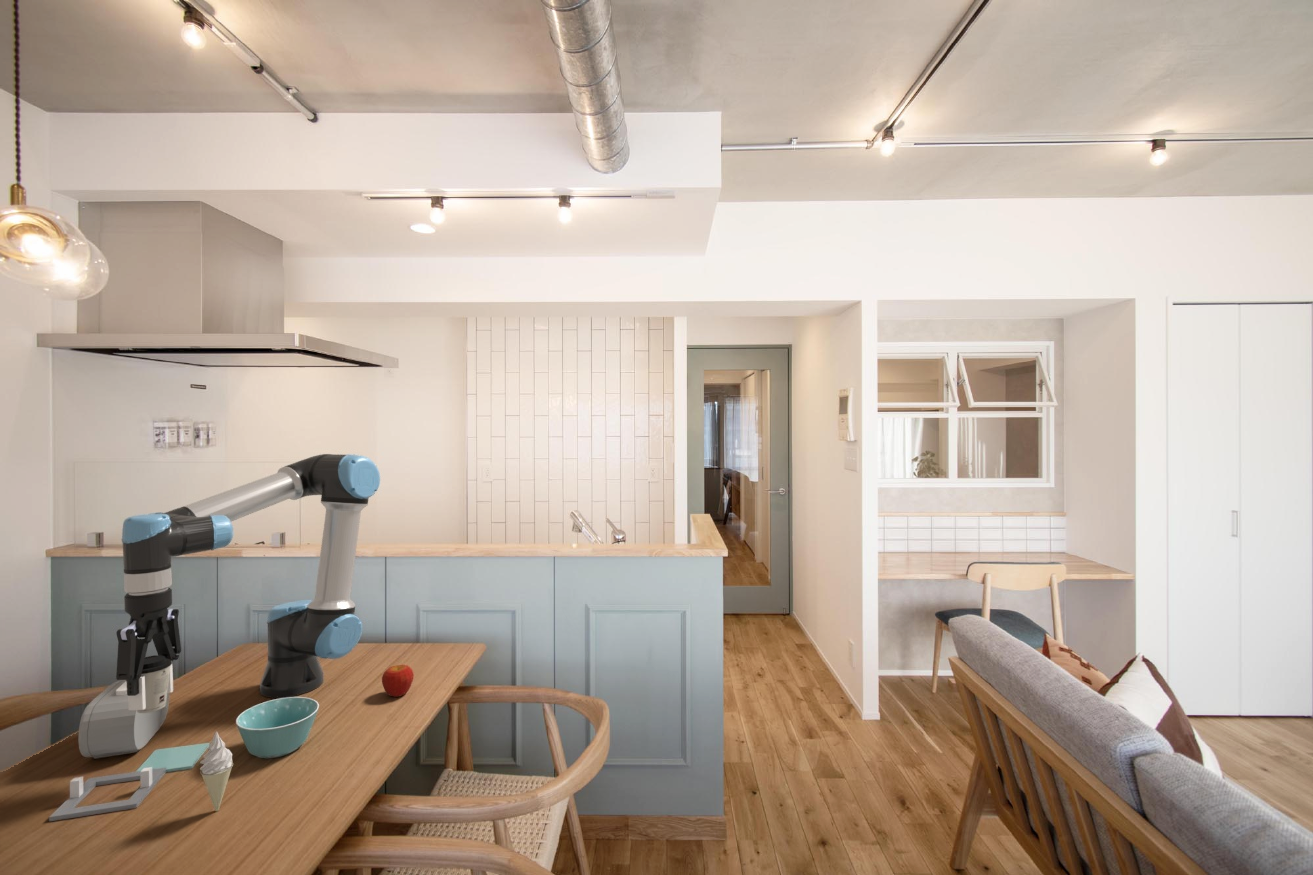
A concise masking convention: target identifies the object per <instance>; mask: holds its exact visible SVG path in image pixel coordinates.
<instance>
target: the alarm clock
mask: <svg viewBox="0 0 1313 875" xmlns="http://www.w3.org/2000/svg"><path fill="white" fill-rule="evenodd" d="M169 706H170V693H167V699H166V705H165V707H163V708H161V709H159V710H156V711H153V712H149V713H138V712H137V710H129V705H128V695H127V682H126V680H117V681H114V682H113V683H111V684H109V685H108V686H107V687H106V688H105V689H104V690H102V691H101V692H100V693H99V694H98V695H97V696H96V697H95V698H94V699H92V700H91V701H90V702H89V703H88V704H87V705H86V706H85V708H84V710H83V712H82V714H81V717H80V722H79V726H78V748H79V752H80V754H81V755H82V757H85V758H93V759H100V758H107V757H113V756H120V755H127V754H133V753H138V751H140V750H141V749H143V748H144V747H145V746H146V745H147V744H148V743H149V741H150V740H151V739H152V738H153V737H154V736H155V735H156V733H157V732H158V731H159V730H160V728H161V727H162V725H163V724H164V722H165V720H166V717H167V716H168V711H169Z"/></svg>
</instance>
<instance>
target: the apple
mask: <svg viewBox="0 0 1313 875" xmlns="http://www.w3.org/2000/svg"><path fill="white" fill-rule="evenodd" d="M414 678H415V677H414V671H413V669H412V668H411V667H410V666H409V665H407V664H398V665H393V666H390V667H388V668H387V670H385V671H384V672H383V674H382V676H381V684H382V687H383V689H384V691H385V693H386V694H387V695H389V696H391V697H394V698H398V697H402V696H404V695H405V694H406V693H407V692H409V690H410V688H411V687H412V683H413V681H414Z"/></svg>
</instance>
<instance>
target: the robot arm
mask: <svg viewBox="0 0 1313 875" xmlns="http://www.w3.org/2000/svg"><path fill="white" fill-rule="evenodd" d="M380 482H381V476H380V471H379V468H378V466H377V465H376V464H375V462H374V461H373V460H372V459H370V457H369V458H368V457H367V456H363V455H359V454H331V453H323V454H318V455H314V456H310V457H308V458H304V459H301V460H299V461H296V462H293V463H290V464H287V465H284V466H281V467H280V468H279V469H278V470H277V472H276V473H273V474H271V475H268V476H265V477H262V478H260V479H257V480H254V481H251V482H248V483H246V484H243V485H239V486H237V487H234V488H231V489H229V490H226V491H223V492H220V493H218V494H214V495H211V496H209V497H205V498H203V499H200V500H198V501H195V502H192V503H189V504H186V505H184V506H183V505H182V506H180V507H178V508H175V509H171V510H169V511H167V512H166V511H165V512H151V513H147V514H146V513H145V514H138V515H136V514H135V515H131V516H129V517H127V518H125V519H124V520H123V524H122V530H121V531H122V533H121V534H122V536H121V543H122V554H123V555H122V558H123V560H122V561H123V578H124V579H123V582H124V585H123V586H124V588H123V590H124V592H125V593H126V594H125V595H124V601H123V602H124V612H125V613H126V614H128V615H129V616H130V618H129V622H128V626H126V627H125V628H120V629H117V631H116V638H117V640H118V643H117V658H116V660H117V661H116V676H115V677H116V678H115V680H117V681H119V680H126V682H127V695H128V705H129V710H144V709H145V708H146V699H145V676H141V674H142V670H143V665H144V661H145V657H147V651H148V648H149V647H148V646H149V643H151V642H153V645H154V648H155V650H156V652H157V656H165V658H166V659H170V660H171V662H172V664H171V666H170V674H169V682H168V691H167V693H169V694H171V693H173V692H174V661H177V660H179V659H180V654H181V652H182V645H181V644H182V643H181V635H180V628H179V613H180V610H179V608H178V609H177V608H170V607H171V606H172V604H173V589H172V588H171V586H172V585H173V580H172V578H173V575H172V558H175V557H180V556H185V555H186V556H187V555H190V554H196V553H197V554H198V553H202V552H207V551H214V550H218V549H220V548H226V547H227V546H229V544H230V543H231V542H232V541H233V538H234V526H233V524H232V522H234V521H236V520H239V519H242V518H243V517H244V518H245V517H247V516H249V515H252V514H254V513H256V512H258V511H261V510H265V509H266V508H267V509H268V507H271V506H275V505H277V504H279V503H281V502H284V501H286V500H287V501H288V500H292V501H296V500H300V499H302V498H305V497H309V496H320V497H321V498H320V503H321V505H322V506H323V507H324V509H325V515H324V524H323V531H322V538H321V547H320V554H319V563H318V569H317V576H316V586H315V593H314V598H313V599H301V600H296V601H295V600H294V601H290V602H285V603H281V604H279V605H275V606H273V607H272V608H270V609H269V611H268V613H267V614H268V615H267V621H266V624H267V663H266V665H265V666H266V667H265V669H264V672H263V675H262V677H261V680H260V684H259V693H260V695H262V696H263V697H266V698H273V699H274V698H276V699H280V698H287V697H296V696H299V695H303V694H306V693H309V692H311V691H313V690H315V689H317V688H319V687H320V686H322V684H323V683H324V671H323V668H322V666H321V663H320V660H319V658H320V659H324V660H326V659H329V660H338V659H341V658H343V657H345V656H347V655H348V654H350V652H352V651H353V649H354V648H355V647H356V646H357V644H358V643H359V641H360V639H361V637H362V634H363V623H362V621H361V620H360V618H359V617H358V616H356V615H355V614H356V612H355V611H356V603H355V602H354V601H353V600H352V599H351V594H352V587H353V586H352V585H353V580H354V579H353V578H354V572H355V564H356V563H355V562H356V553H357V548H358V547H357V546H358V540H359V539H358V537H359V529H360V523H361V521H360V520H361V513H362V510H363V509H365V508H366V507H367V506H369V498H371V497H372V496H374V495H375V493H376V492H377V491H378V490H379V488H380V484H381V483H380ZM168 608H169V609H168ZM134 671H135V673H134Z"/></svg>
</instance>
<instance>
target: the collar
mask: <svg viewBox="0 0 1313 875" xmlns="http://www.w3.org/2000/svg"><path fill="white" fill-rule="evenodd" d="M166 769H167V767H166V768H159V769H152V767H148V768H143V770H142V771H137V770H136V771H137V772H136V771H131V772H124V773H118V774H117V773H116V774H110V775H103V776H96V777H90V778H87V780H86V781H84V776H77V777H73V778H72V779H70V781H69V797H68V798H67V799H66V800H65V801H64V802H63V803H62V804H61V805H60V806H59V807H58V808H57V809H56V810H55V811H53V813H51V815H49V816H48V821H49V822H55V821H61V820H62V821H63V820H68V819H74V818H81V817H88V816H92V815H93V816H94V815H100V814H105V813H114V812H119V811H125V810H127V811H128V810H132V809H137V808H138V807H139V806H140V805H141V804H142V802H143V801H144V800H145V798H146V797H147V796H148V795H149V794H150V793H151V791H152V790H153V789H154V788H155V787H156V786H157V784H158V783H159V782H160V780H161V779H162V778H163V776H165V774H166V773H167V772H166ZM133 781H140V784H139V785H140V786H139V787H138V788H137V790H136V791H135V792H134V793H133V794H132V795H131V797H130V798H129V799H123V800H118V801H111V802H105V803H104V802H103V803H99V804H92V805H85V806H79V807H78V805H79V804H80V803H81V802H82V801H83V800H84V799H85V798H86V797H88V796H89V794H90V793H91V792H92V791H93V789H94V788H95V787H98V786H104V785H109V784H110V785H111V784H118V783H127V782H133Z"/></svg>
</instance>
